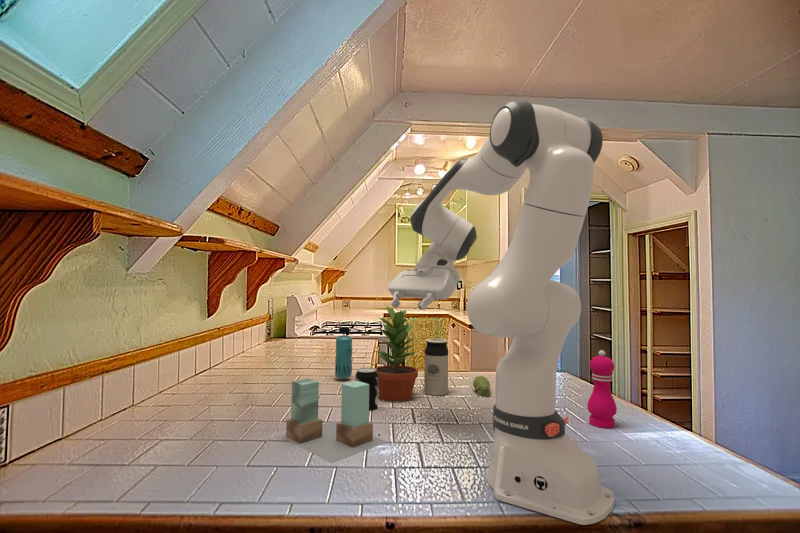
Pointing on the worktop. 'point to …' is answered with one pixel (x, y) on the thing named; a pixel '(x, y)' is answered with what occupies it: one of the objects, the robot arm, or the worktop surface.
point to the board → (333, 444)
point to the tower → (304, 412)
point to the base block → (354, 434)
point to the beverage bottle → (343, 354)
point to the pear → (482, 386)
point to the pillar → (355, 404)
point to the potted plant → (396, 360)
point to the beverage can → (372, 379)
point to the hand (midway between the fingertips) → (406, 307)
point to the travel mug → (436, 367)
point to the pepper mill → (602, 392)
